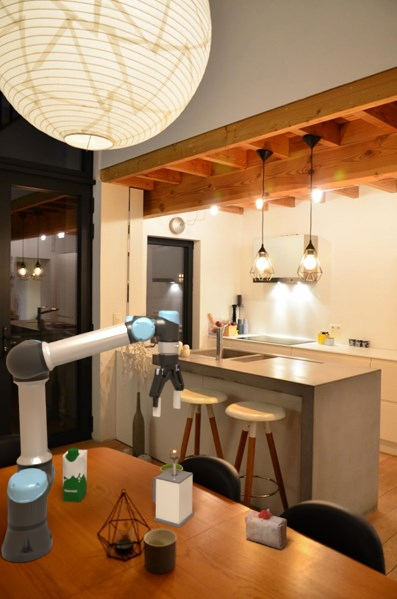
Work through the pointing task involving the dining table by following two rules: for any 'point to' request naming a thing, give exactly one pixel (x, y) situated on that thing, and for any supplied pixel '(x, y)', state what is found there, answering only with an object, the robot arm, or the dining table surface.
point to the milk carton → (74, 475)
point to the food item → (266, 529)
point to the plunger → (174, 457)
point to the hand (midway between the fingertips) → (167, 412)
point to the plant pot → (168, 466)
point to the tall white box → (173, 497)
